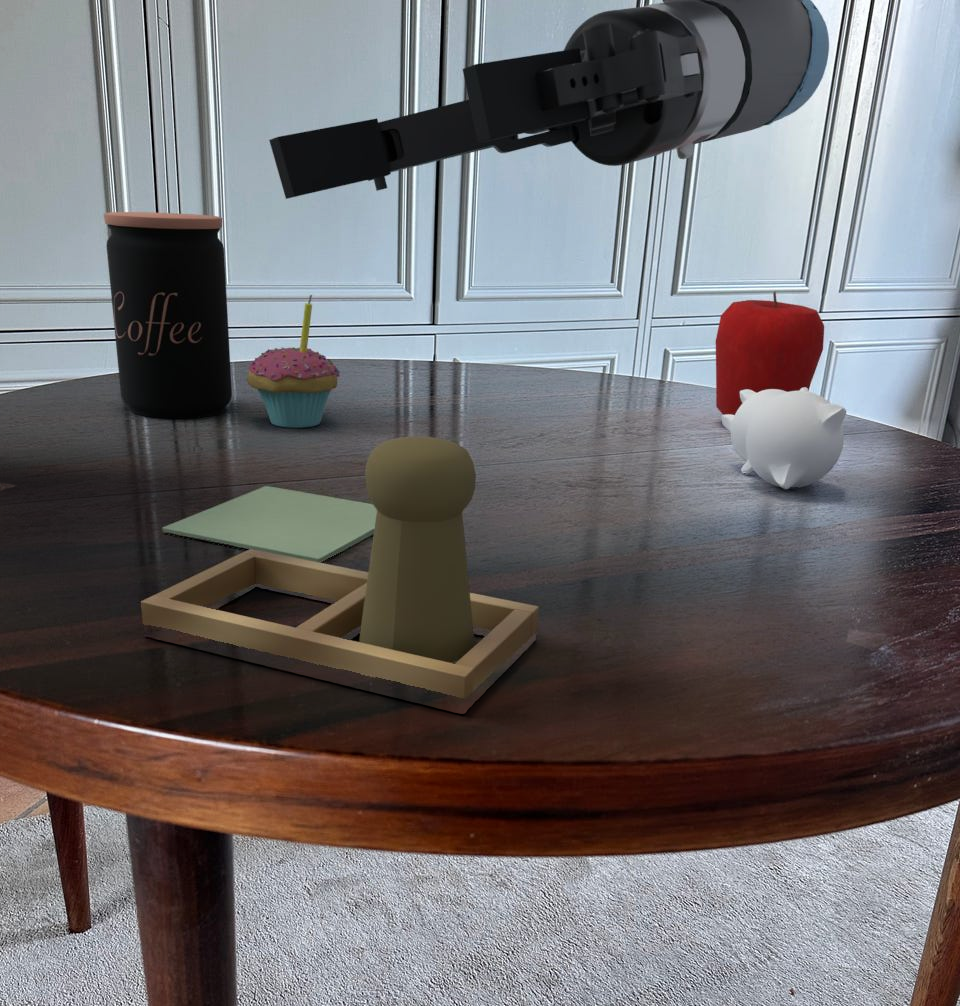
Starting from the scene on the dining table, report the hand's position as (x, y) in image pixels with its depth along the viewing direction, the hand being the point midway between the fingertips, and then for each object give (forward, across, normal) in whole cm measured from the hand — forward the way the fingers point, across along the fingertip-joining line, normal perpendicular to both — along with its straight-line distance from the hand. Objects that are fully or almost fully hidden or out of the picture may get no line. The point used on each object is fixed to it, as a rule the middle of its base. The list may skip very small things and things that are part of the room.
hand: (368, 139), depth 45 cm
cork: (+5, 0, -24) cm, 24 cm away
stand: (+6, +4, -22) cm, 24 cm away
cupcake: (-23, +47, -20) cm, 56 cm away
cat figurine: (-42, +7, -32) cm, 53 cm away
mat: (-3, +22, -21) cm, 30 cm away
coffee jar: (-18, +58, -16) cm, 63 cm away
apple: (-60, +20, -32) cm, 71 cm away
